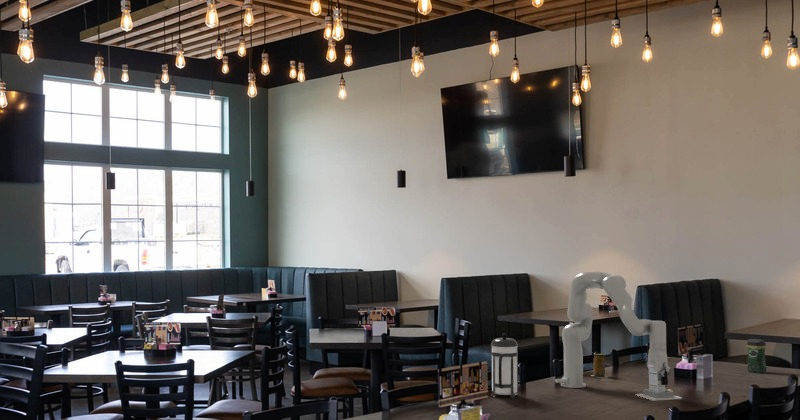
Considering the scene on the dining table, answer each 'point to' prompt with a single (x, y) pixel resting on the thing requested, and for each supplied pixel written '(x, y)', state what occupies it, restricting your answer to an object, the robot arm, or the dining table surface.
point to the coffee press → (504, 366)
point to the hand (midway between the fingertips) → (658, 383)
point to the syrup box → (655, 381)
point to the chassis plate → (658, 395)
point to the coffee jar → (756, 355)
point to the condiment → (599, 366)
